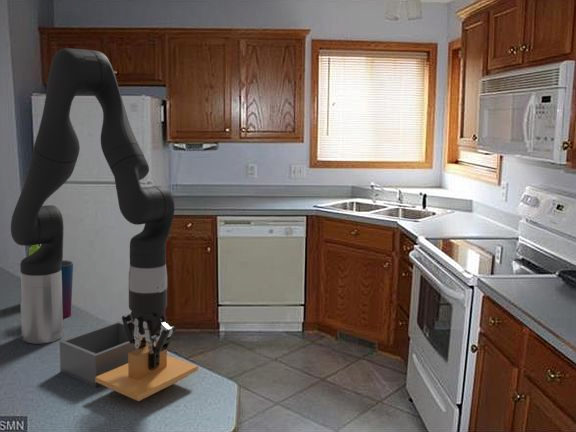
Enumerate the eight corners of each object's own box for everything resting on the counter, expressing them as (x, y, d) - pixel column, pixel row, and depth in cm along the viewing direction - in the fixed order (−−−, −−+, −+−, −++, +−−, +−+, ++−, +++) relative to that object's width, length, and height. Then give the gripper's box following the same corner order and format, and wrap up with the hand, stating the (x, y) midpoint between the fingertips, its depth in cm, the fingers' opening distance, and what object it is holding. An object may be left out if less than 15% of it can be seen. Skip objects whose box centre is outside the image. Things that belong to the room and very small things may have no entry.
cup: (65, 321, 152) (63, 267, 150) (42, 318, 154) (41, 265, 151) (79, 312, 159) (78, 261, 156) (57, 310, 160) (56, 259, 158)
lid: (95, 387, 113) (94, 353, 111) (156, 360, 126) (156, 329, 125) (137, 406, 106) (137, 370, 105) (197, 375, 120) (197, 343, 118)
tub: (60, 371, 123) (59, 341, 122) (119, 348, 136) (118, 321, 135) (95, 387, 116) (95, 355, 115) (153, 362, 130) (153, 333, 128)
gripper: (109, 283, 113) (110, 363, 116) (158, 297, 106) (158, 383, 109) (138, 275, 120) (138, 352, 122) (186, 288, 112) (185, 369, 115)
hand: (148, 366), depth 116 cm, fingers closed on lid, 2 cm apart
